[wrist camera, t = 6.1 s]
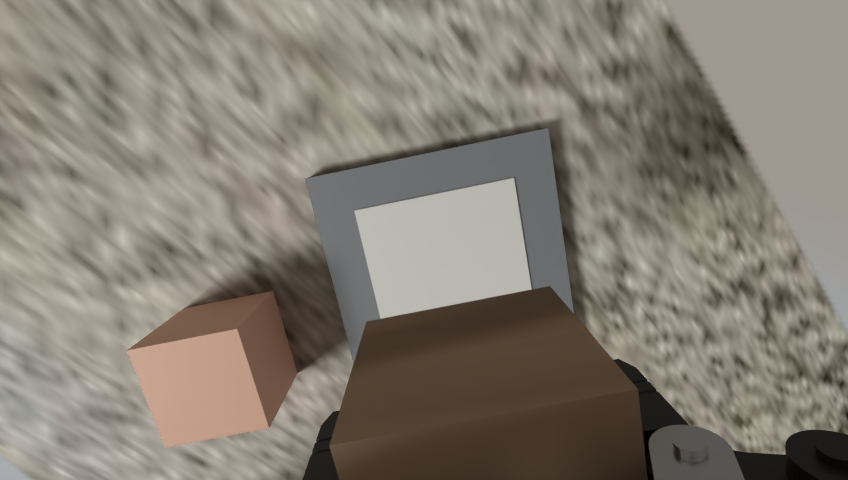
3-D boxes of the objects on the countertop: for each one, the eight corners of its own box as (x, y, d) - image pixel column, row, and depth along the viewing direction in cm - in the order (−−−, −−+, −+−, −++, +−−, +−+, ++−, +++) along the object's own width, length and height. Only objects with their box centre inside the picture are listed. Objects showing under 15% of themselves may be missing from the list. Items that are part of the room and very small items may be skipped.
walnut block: (366, 321, 12) (329, 445, 7) (550, 286, 12) (637, 389, 7) (404, 477, 13) (395, 674, 8) (573, 446, 13) (664, 631, 8)
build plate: (309, 177, 23) (304, 179, 22) (543, 128, 22) (549, 127, 22) (363, 385, 26) (361, 395, 25) (573, 345, 25) (579, 354, 24)
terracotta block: (184, 307, 25) (127, 350, 20) (273, 290, 24) (237, 329, 20) (213, 388, 26) (164, 447, 21) (297, 372, 26) (269, 428, 21)
